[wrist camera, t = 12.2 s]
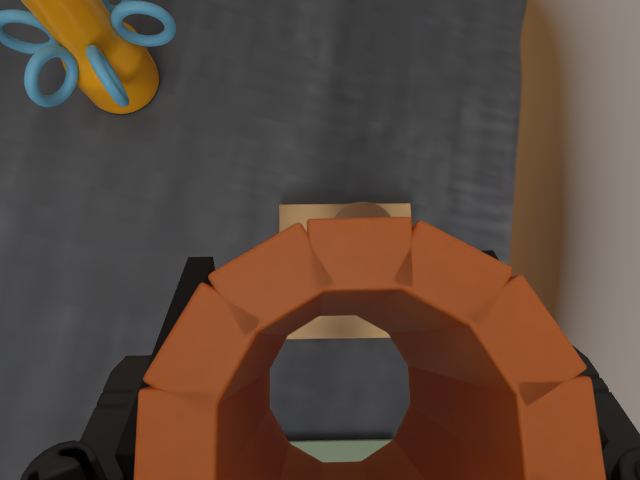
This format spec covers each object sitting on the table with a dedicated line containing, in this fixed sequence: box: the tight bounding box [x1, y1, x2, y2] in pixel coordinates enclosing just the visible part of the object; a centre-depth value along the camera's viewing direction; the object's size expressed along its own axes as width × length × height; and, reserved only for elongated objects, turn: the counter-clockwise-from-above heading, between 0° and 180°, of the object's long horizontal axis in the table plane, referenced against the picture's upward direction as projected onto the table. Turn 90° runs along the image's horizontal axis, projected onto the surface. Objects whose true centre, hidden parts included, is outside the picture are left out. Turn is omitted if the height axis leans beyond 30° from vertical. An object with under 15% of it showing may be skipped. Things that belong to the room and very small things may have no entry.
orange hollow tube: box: [134, 217, 606, 480], centre depth 12 cm, size 8×8×10 cm
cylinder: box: [0, 0, 176, 114], centre depth 31 cm, size 12×10×15 cm
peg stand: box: [279, 201, 411, 339], centre depth 28 cm, size 10×10×13 cm
